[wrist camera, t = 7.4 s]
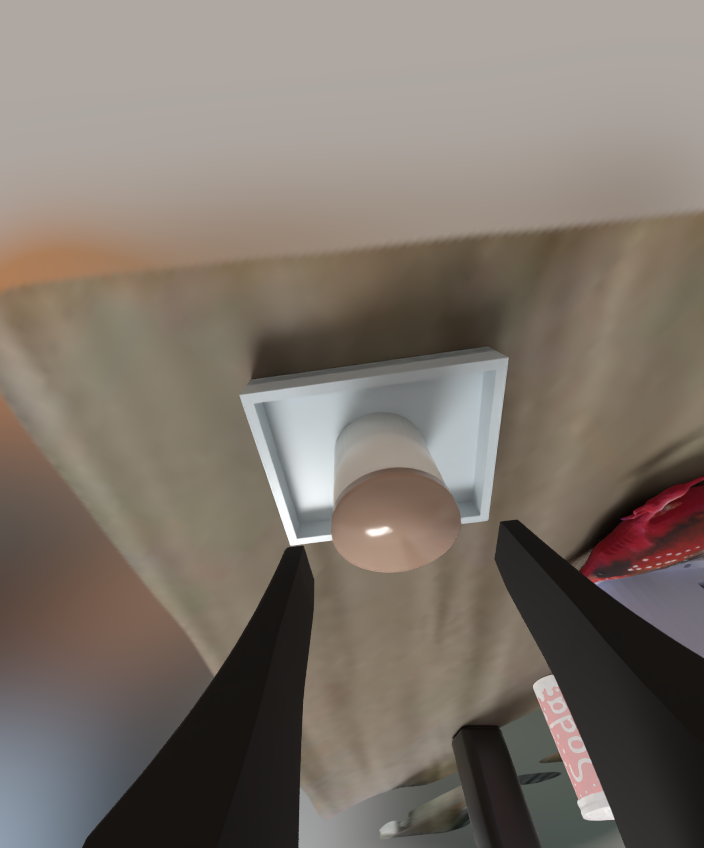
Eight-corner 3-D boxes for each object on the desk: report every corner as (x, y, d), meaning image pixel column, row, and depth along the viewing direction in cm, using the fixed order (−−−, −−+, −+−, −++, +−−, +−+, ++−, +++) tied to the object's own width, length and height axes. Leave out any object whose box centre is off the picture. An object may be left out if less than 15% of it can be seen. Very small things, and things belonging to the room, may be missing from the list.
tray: (488, 346, 15) (508, 357, 13) (474, 497, 19) (488, 520, 18) (250, 379, 15) (239, 395, 13) (294, 520, 20) (290, 545, 18)
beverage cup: (574, 664, 32) (725, 919, 19) (586, 684, 34) (726, 921, 22) (519, 681, 33) (627, 929, 21) (534, 699, 36) (638, 930, 23)
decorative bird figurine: (761, 410, 17) (778, 493, 21) (492, 561, 22) (549, 603, 27) (836, 438, 14) (839, 527, 18) (513, 600, 20) (572, 640, 24)
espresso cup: (423, 404, 15) (463, 470, 10) (425, 481, 18) (458, 564, 13) (325, 418, 15) (319, 489, 10) (341, 493, 18) (341, 579, 13)
